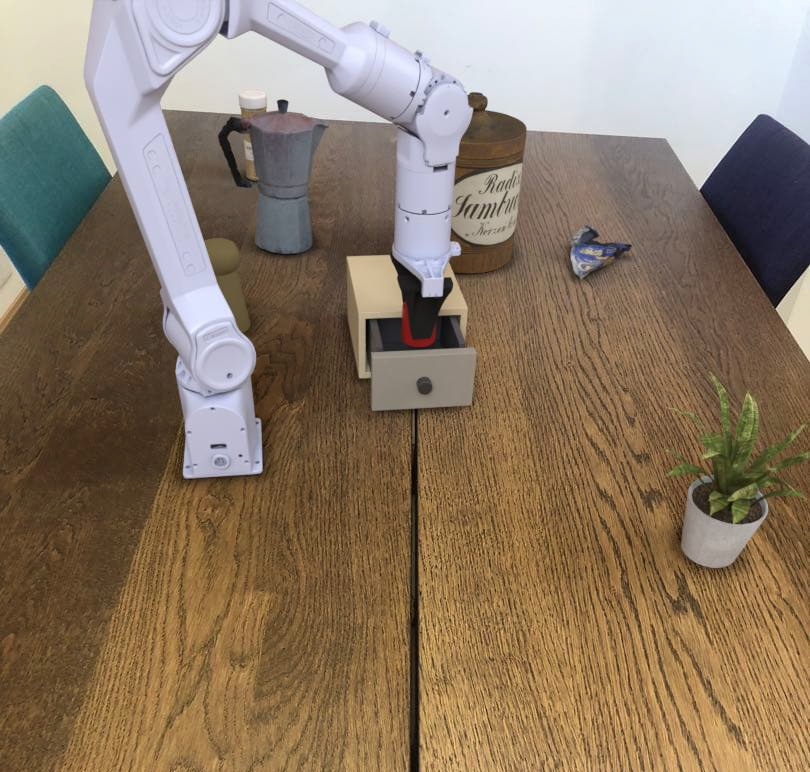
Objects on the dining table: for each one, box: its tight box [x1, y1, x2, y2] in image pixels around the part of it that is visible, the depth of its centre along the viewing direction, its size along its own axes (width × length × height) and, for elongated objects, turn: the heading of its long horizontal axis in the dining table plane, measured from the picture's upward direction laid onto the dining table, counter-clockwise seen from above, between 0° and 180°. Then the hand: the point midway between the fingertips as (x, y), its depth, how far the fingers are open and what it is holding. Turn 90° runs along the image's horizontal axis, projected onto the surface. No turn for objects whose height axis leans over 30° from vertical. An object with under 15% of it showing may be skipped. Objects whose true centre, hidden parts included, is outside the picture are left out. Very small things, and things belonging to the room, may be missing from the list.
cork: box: [204, 237, 252, 334], centre depth 102 cm, size 6×6×11 cm
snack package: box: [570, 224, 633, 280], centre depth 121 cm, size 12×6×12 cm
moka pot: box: [217, 98, 329, 255], centre depth 117 cm, size 10×15×20 cm, turn 112°
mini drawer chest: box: [346, 254, 469, 379], centre depth 101 cm, size 15×13×9 cm
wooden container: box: [449, 91, 528, 275], centre depth 116 cm, size 15×15×22 cm
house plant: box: [658, 370, 810, 569], centre depth 73 cm, size 14×14×16 cm
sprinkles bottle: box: [238, 89, 268, 182], centre depth 139 cm, size 5×5×13 cm
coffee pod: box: [401, 301, 436, 347], centre depth 90 cm, size 4×4×4 cm
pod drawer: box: [366, 315, 478, 412], centre depth 94 cm, size 15×11×7 cm
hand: (418, 327), depth 91 cm, fingers closed on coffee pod, 4 cm apart
